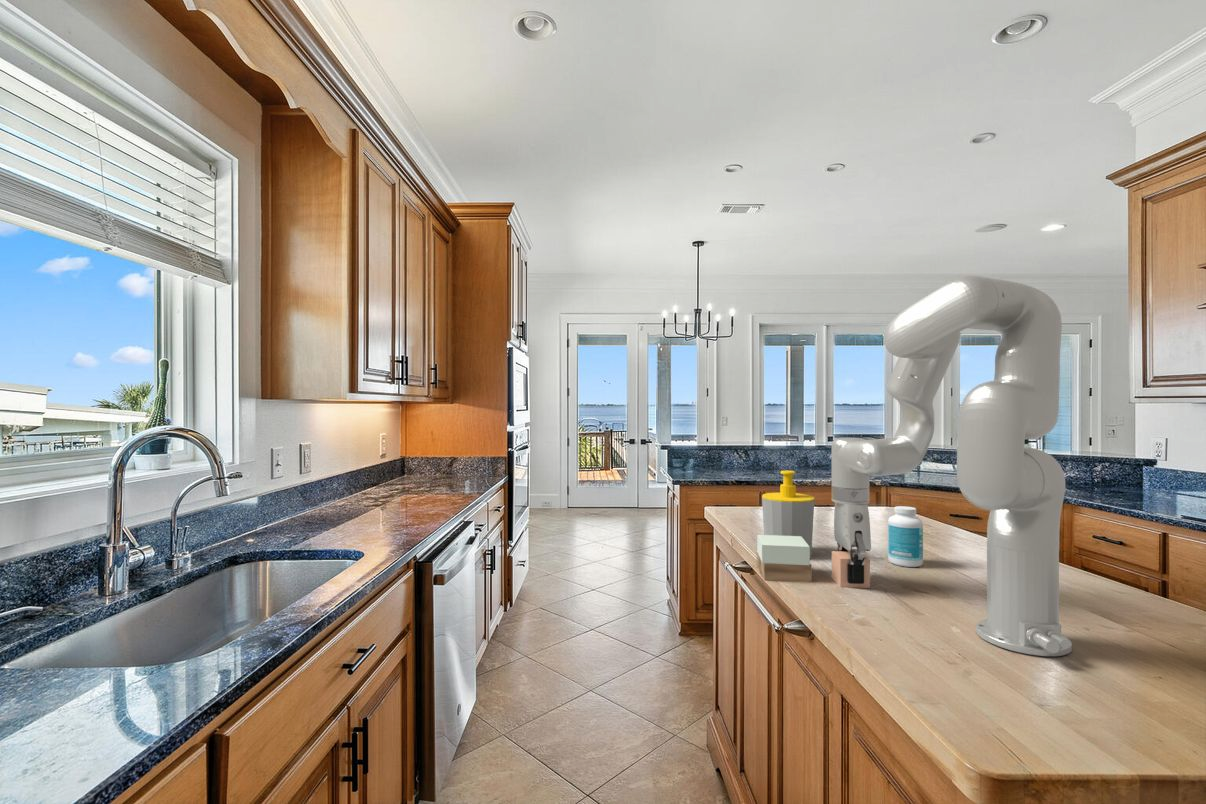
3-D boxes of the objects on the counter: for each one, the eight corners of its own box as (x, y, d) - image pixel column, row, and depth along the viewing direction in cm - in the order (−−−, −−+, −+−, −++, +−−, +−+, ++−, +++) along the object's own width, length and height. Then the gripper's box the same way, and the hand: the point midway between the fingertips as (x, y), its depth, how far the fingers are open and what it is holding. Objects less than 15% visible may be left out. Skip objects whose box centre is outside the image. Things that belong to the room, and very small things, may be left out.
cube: (869, 587, 119) (869, 559, 119) (840, 587, 120) (840, 558, 120) (859, 578, 125) (859, 551, 125) (831, 578, 126) (831, 551, 126)
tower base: (811, 583, 123) (811, 565, 123) (764, 582, 124) (764, 564, 124) (800, 569, 133) (800, 552, 133) (756, 568, 134) (756, 551, 134)
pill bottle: (927, 569, 132) (927, 511, 132) (893, 567, 134) (893, 510, 134) (916, 560, 140) (916, 505, 140) (884, 558, 141) (884, 504, 141)
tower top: (809, 565, 123) (809, 546, 123) (762, 563, 125) (762, 545, 125) (801, 553, 133) (801, 536, 133) (757, 551, 135) (757, 534, 135)
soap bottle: (819, 551, 148) (819, 470, 148) (808, 563, 137) (808, 475, 137) (769, 544, 155) (769, 467, 155) (755, 555, 144) (755, 472, 144)
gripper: (884, 502, 114) (884, 592, 114) (854, 488, 131) (854, 566, 131) (845, 501, 114) (845, 591, 114) (820, 488, 131) (821, 566, 131)
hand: (850, 577), depth 123 cm, fingers closed on cube, 6 cm apart
